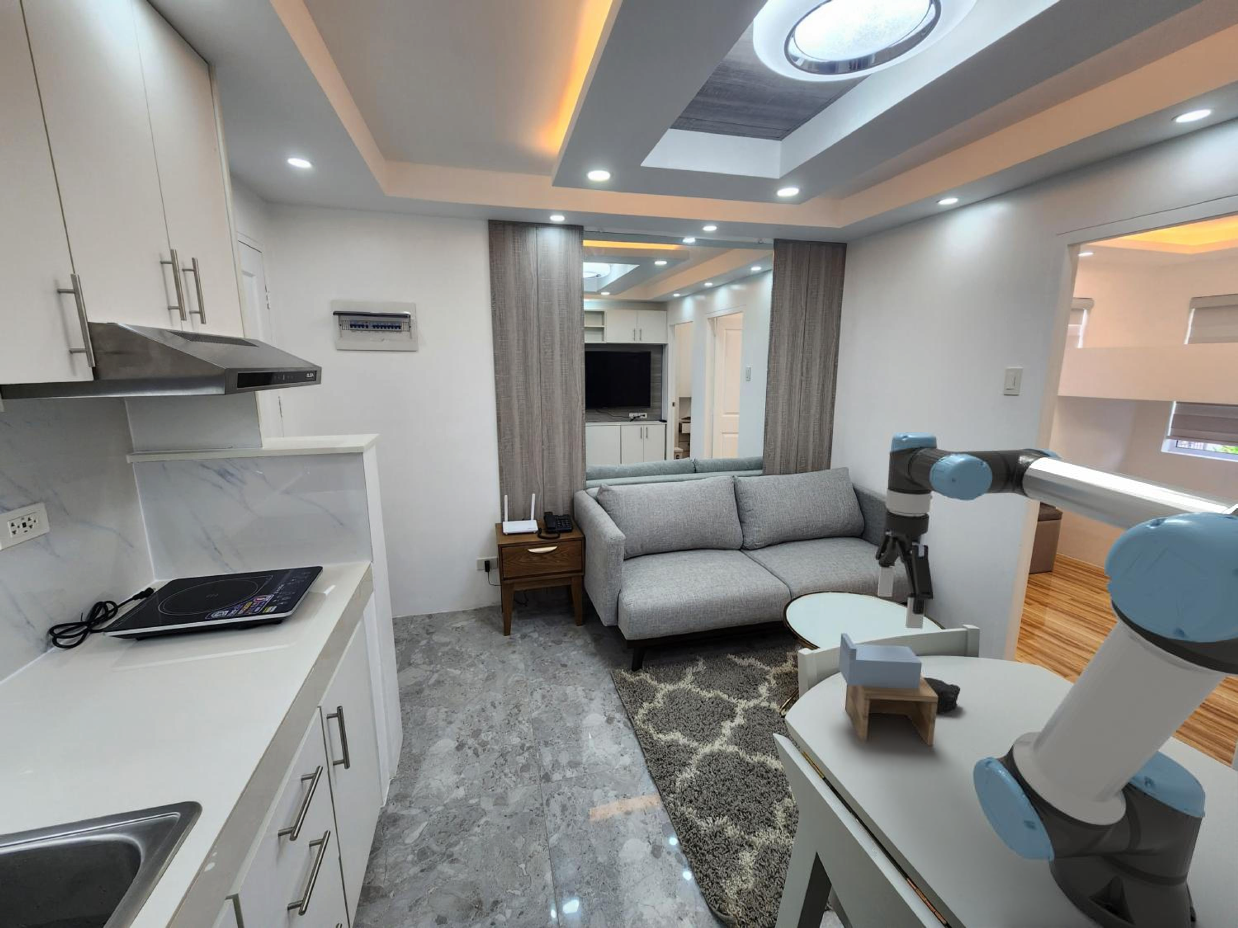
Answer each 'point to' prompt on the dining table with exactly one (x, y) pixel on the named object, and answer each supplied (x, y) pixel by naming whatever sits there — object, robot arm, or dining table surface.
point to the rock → (944, 695)
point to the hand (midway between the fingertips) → (898, 610)
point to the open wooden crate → (893, 706)
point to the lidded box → (878, 665)
